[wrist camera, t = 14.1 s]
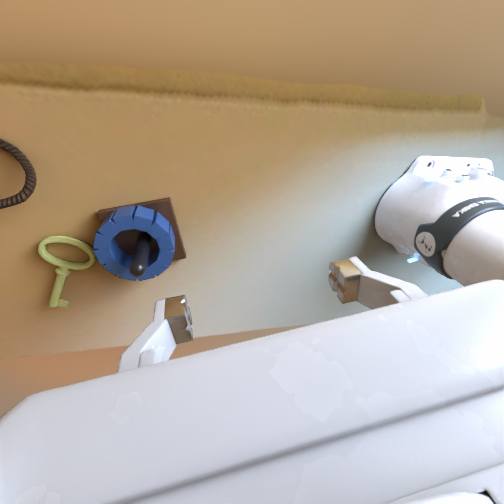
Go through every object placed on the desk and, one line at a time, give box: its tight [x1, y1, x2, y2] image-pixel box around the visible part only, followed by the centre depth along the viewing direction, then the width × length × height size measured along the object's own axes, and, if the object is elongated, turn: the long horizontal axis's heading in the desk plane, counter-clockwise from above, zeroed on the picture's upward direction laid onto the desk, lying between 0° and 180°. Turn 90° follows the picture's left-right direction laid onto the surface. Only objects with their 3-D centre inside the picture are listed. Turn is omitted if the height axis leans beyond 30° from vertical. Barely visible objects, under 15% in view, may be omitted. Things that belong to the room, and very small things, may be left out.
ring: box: [93, 205, 175, 281], centre depth 41 cm, size 10×10×4 cm
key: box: [38, 236, 96, 308], centre depth 43 cm, size 7×12×2 cm, turn 170°
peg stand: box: [97, 198, 186, 277], centre depth 39 cm, size 10×10×11 cm
